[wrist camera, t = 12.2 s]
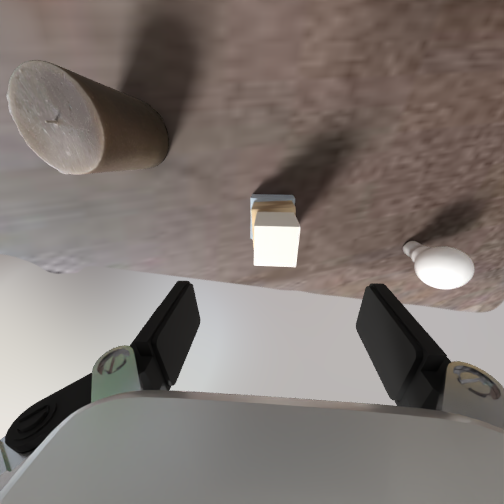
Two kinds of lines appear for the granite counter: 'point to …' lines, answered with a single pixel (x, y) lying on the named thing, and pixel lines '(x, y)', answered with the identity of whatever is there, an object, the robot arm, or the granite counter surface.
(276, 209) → the tower mid
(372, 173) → the granite counter surface
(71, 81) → the pillar candle
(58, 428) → the robot arm
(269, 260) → the white block
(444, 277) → the lightbulb
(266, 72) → the granite counter surface
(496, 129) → the granite counter surface
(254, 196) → the tower base
